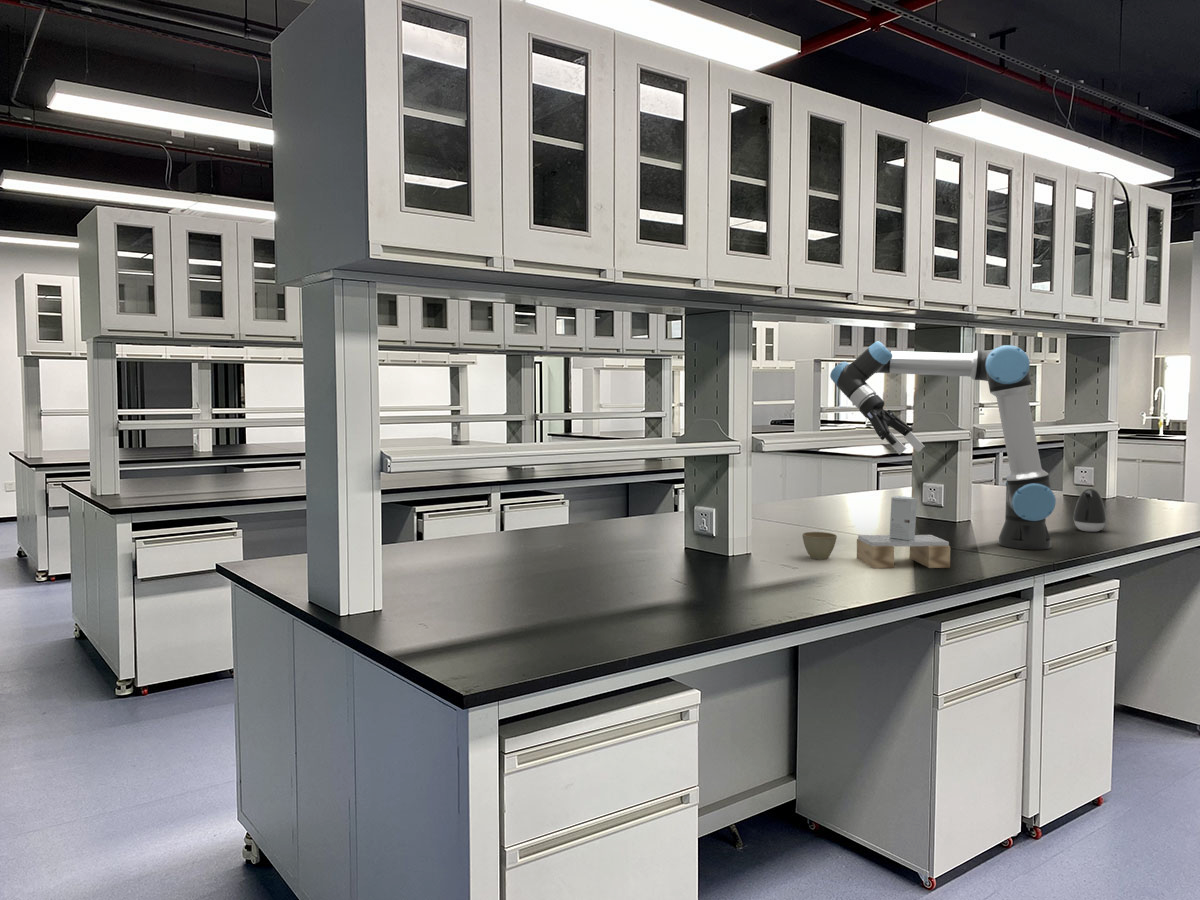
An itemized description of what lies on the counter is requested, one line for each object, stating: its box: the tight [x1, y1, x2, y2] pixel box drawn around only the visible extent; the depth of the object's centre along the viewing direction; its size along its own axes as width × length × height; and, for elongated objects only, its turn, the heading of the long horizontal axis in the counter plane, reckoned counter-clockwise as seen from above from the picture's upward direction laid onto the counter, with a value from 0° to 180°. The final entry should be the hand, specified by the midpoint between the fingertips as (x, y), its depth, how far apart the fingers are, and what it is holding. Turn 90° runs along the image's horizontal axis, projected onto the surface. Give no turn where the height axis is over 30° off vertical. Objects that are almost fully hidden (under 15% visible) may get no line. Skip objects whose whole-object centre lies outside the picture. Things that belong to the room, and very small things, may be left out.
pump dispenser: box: [1072, 488, 1107, 533], centre depth 298 cm, size 10×10×15 cm
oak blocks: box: [856, 538, 951, 569], centre depth 241 cm, size 22×14×6 cm, turn 91°
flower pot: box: [802, 531, 838, 561], centre depth 249 cm, size 10×10×7 cm
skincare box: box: [889, 495, 918, 540], centre depth 241 cm, size 6×4×12 cm
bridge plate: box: [857, 534, 950, 547], centre depth 241 cm, size 22×12×1 cm, turn 91°
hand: (912, 450), depth 258 cm, fingers open, 13 cm apart
